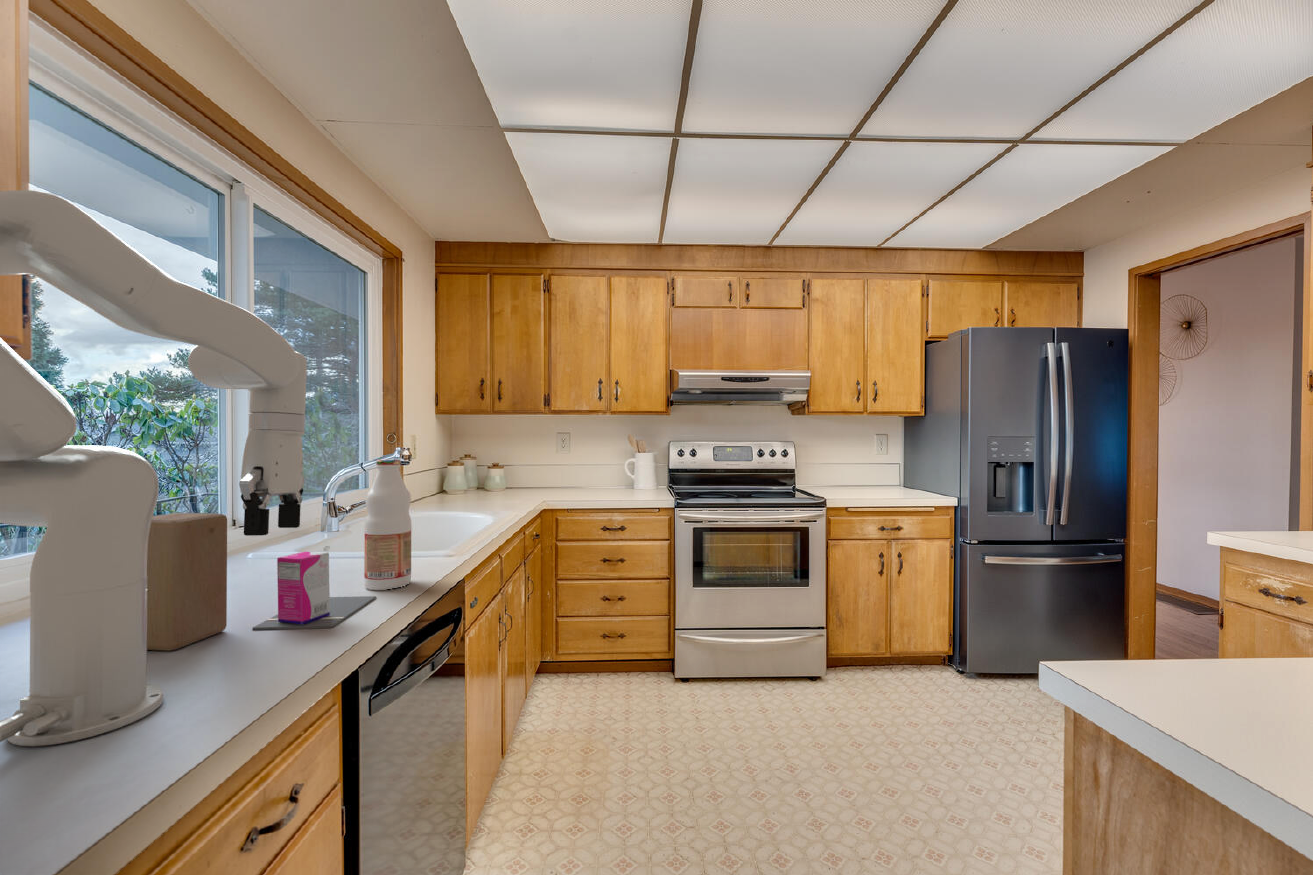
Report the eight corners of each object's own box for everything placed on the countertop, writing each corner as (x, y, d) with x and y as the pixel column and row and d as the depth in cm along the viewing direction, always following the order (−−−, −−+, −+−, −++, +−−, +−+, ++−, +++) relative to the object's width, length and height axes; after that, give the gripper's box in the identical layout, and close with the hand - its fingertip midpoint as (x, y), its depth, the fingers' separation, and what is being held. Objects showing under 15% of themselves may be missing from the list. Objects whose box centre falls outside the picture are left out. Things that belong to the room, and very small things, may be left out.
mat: (332, 627, 95) (332, 624, 95) (252, 629, 94) (252, 626, 94) (376, 598, 113) (376, 595, 113) (309, 599, 112) (309, 597, 112)
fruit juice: (374, 593, 116) (375, 460, 116) (357, 585, 122) (357, 459, 123) (418, 585, 123) (419, 459, 123) (400, 578, 130) (400, 458, 130)
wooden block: (229, 630, 94) (230, 512, 94) (172, 653, 84) (173, 521, 84) (176, 628, 95) (176, 511, 95) (113, 650, 85) (114, 520, 85)
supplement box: (305, 612, 102) (306, 550, 102) (330, 615, 100) (331, 552, 100) (275, 622, 96) (276, 556, 97) (301, 625, 95) (302, 558, 95)
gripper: (280, 428, 98) (276, 525, 97) (218, 421, 81) (213, 539, 80) (325, 429, 99) (322, 524, 98) (273, 422, 82) (269, 538, 81)
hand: (273, 531), depth 89 cm, fingers open, 9 cm apart
